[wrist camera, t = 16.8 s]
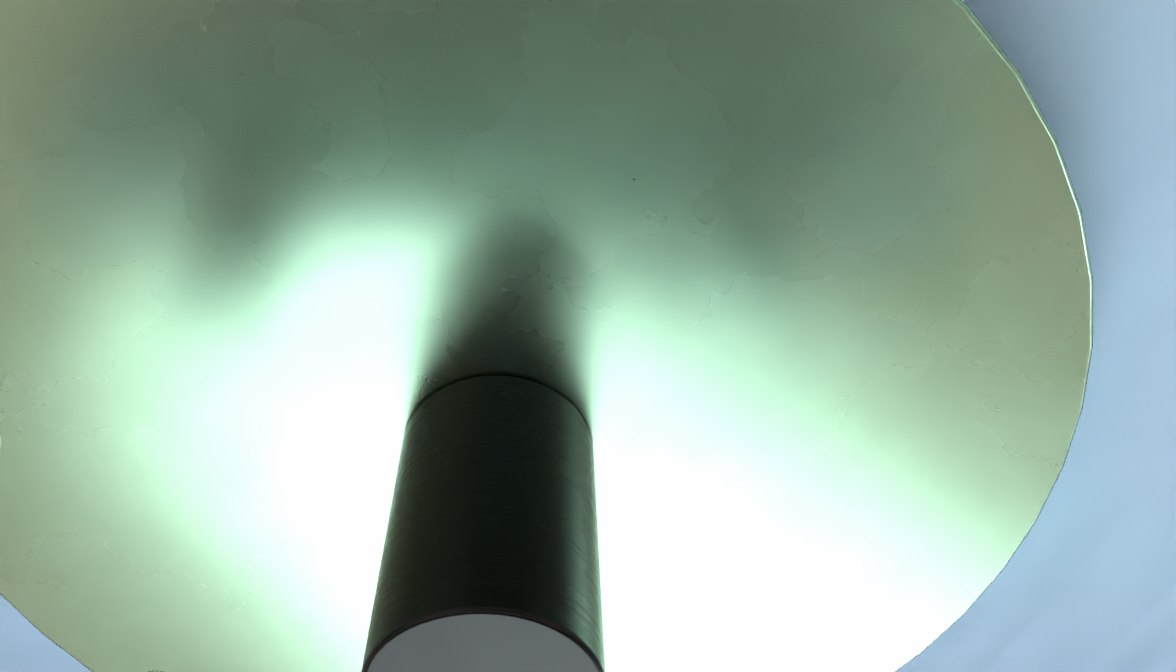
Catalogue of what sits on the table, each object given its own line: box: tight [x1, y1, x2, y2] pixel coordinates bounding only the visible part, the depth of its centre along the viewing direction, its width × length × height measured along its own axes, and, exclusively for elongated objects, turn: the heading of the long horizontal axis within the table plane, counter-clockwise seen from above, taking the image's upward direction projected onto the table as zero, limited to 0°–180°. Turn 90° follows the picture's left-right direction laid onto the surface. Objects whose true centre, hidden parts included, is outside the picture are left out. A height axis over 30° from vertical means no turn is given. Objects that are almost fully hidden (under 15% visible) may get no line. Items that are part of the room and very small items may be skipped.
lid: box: [0, 0, 1093, 672], centre depth 13 cm, size 16×16×5 cm
